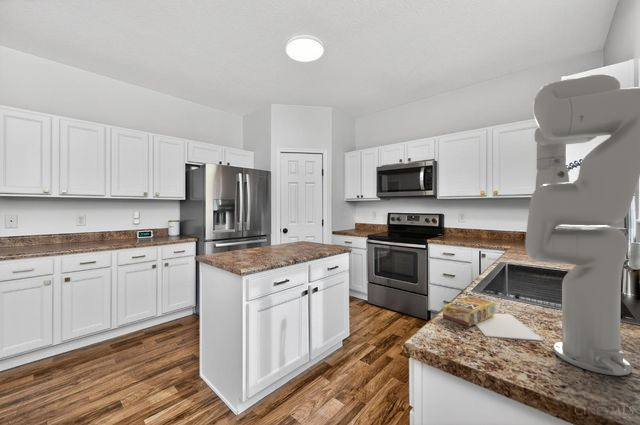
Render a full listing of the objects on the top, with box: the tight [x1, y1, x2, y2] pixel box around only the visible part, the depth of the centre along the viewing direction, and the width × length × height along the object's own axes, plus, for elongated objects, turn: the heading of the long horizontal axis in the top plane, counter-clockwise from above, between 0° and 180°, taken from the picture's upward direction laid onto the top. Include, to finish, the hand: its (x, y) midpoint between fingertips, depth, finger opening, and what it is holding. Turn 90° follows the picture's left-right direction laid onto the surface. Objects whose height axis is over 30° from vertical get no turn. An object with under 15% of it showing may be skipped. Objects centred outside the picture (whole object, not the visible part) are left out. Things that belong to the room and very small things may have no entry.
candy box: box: [441, 295, 497, 327], centre depth 87 cm, size 9×4×15 cm
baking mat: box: [474, 313, 544, 342], centre depth 81 cm, size 18×14×1 cm
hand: (550, 218), depth 91 cm, fingers closed
